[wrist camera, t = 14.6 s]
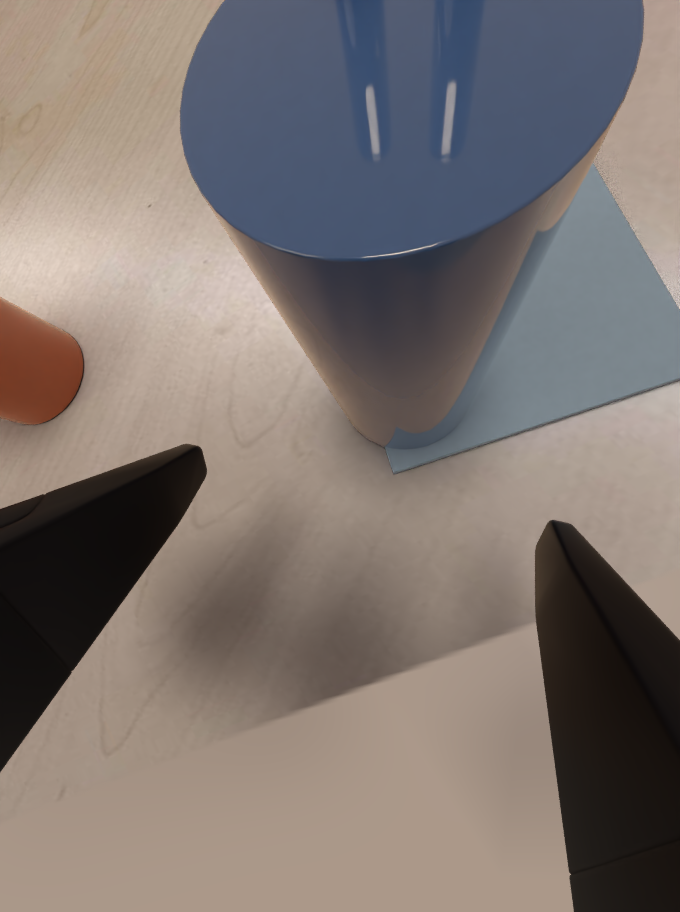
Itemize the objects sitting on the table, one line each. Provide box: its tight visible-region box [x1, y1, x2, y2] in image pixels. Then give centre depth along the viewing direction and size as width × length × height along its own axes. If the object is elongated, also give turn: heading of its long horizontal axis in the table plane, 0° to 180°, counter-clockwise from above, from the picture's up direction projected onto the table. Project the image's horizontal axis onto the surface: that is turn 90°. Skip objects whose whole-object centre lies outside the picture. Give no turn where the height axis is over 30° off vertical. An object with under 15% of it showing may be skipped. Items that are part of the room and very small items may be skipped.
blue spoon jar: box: [180, 0, 644, 449], centre depth 10 cm, size 6×6×16 cm
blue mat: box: [385, 163, 680, 474], centre depth 18 cm, size 18×14×1 cm
